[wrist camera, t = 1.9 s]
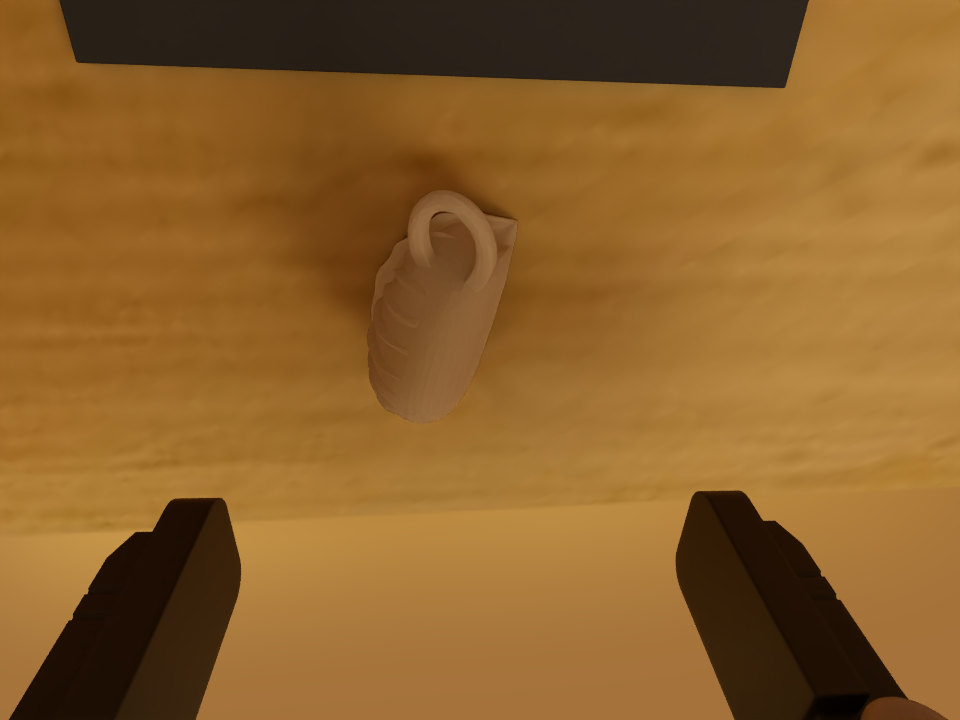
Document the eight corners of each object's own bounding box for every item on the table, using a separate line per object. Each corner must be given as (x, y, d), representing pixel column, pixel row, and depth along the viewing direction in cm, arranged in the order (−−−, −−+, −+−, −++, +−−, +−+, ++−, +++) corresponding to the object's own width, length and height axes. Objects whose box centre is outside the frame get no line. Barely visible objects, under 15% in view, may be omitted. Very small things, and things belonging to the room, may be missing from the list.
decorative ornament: (355, 365, 22) (333, 460, 17) (415, 137, 18) (409, 181, 13) (460, 391, 23) (467, 488, 18) (540, 178, 19) (573, 233, 14)
